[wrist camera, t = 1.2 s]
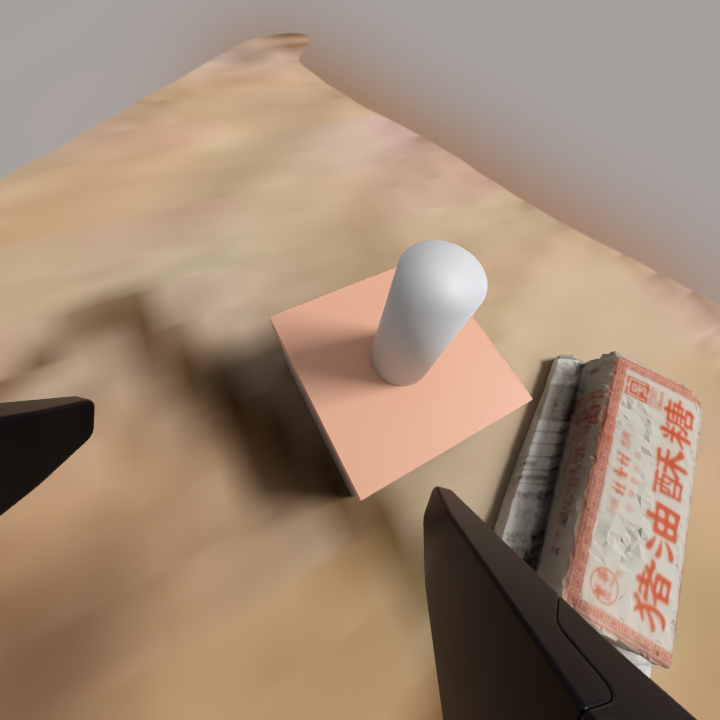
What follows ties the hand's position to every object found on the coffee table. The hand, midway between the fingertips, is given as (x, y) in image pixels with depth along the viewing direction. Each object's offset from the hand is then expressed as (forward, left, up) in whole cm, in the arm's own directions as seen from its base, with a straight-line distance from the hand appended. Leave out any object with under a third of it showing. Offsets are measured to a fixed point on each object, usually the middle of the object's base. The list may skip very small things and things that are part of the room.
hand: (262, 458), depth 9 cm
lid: (+3, -8, -9) cm, 12 cm away
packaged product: (-10, -16, -14) cm, 24 cm away
